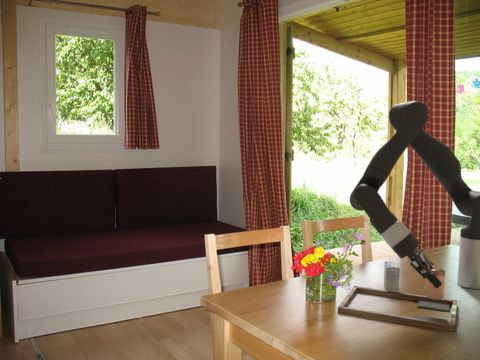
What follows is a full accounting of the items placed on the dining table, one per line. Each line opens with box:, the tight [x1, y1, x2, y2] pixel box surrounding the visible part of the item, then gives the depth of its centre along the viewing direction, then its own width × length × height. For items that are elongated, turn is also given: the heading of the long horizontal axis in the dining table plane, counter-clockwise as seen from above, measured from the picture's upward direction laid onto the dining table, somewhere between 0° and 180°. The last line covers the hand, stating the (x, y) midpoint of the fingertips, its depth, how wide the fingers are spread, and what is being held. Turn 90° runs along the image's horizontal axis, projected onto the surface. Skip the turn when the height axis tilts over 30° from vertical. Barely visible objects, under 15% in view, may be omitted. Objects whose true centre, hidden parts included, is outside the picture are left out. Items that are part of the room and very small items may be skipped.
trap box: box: [337, 285, 458, 333], centre depth 156 cm, size 23×32×2 cm
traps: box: [413, 300, 451, 324], centre depth 152 cm, size 20×9×1 cm, turn 155°
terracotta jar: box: [424, 267, 446, 299], centre depth 151 cm, size 5×5×8 cm
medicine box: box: [383, 260, 401, 292], centre depth 175 cm, size 8×4×9 cm, turn 168°
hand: (439, 283), depth 150 cm, fingers closed on terracotta jar, 5 cm apart
